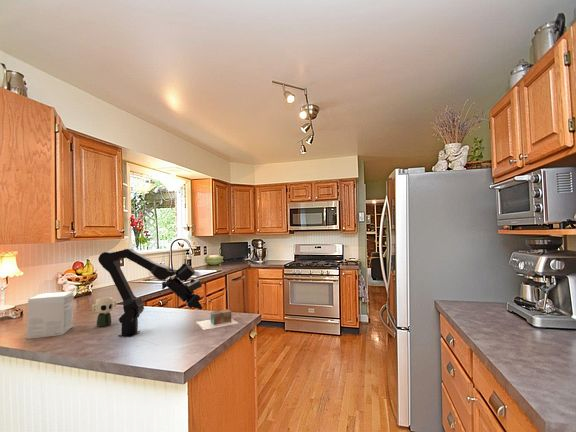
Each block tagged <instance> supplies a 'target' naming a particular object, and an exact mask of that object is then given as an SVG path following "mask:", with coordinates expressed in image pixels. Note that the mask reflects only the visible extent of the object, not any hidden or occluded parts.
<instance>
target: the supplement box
mask: <svg viewBox="0 0 576 432" xmlns="http://www.w3.org/2000/svg"><path fill="white" fill-rule="evenodd" d="M73 307H74V290H72V291H71V290H70V291H59V292H46V293H45V292H44V293H39V294H37V295H34V296H32V297H30V298H27V318H26V319H27V320H26V322H27V323H26V338H25V339H26V340H30V339H31V340H32V339H40V338H47V337H55V336H56V337H57V336H58V337H59V336H63V335H64V334H65V333H67V332H68V331H69V330H70V329H71V328H73V316H74V315H73V314H74V313H73V312H74V311H73V310H74V308H73Z"/></svg>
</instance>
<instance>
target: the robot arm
mask: <svg viewBox="0 0 576 432" xmlns="http://www.w3.org/2000/svg"><path fill="white" fill-rule="evenodd" d="M124 259H128V260H129V261H132V263H133V262H134V263H135V264H137V265H139V266H141V267H142V268H144V269H146V270H147V271H149V272H150V274H151V275H152V276H154V277H155V278H156V279H157V280H160V281H162V282H161V289H162V290H165V289H166V288H168V289H169V290H170V291H171V292H173V293H174V294H175V296H177V297H178V298H179V299H180V300H181V301H182V302H184V303H185V305H186V306H187V307H189V308H190V309H191V308H193V309H197V310H203V306H202V304H201V303H200V301H199V300H200V299H201V296H200V295H199V294H197V293H196V292H195V291H196V290H197V289H199V288H201V287H203V285H202V283H201V280H199V279H193V278H191V277H192V276H193V275H195V274H196V271H195V269H194V268H193V267H192V266H190V265H189V264H187V262H184V263H183V264H182V265H181V266H180V267H179V268H178V269H172V268H171V267H170V266H168V265H166V264H162V263H158V262H156V261H153V259H150V258H148V257H146V256H145V255H142V254H141V253H139V252H137V251H135V250H134V249H133V248H125V249H122V250H118V251H114V250H113V251H111V250H110V251H105V252H101V253H100V254H99V256H98V260H97V261H98V263H99V265H101V267H102V268H103V269H104V270H106V271H107V272H108V273H109V276H110V277H111V279H112V281H113V283H114V286H115V287H116V289H117V291H118V293H119V295H120V297H121V299H122V308H123V314H122V315H121V316H120V317H119V318H118V322H119V323H120V324H121V329H120V330H121V333H119V334H117V336H118V337H133V336H135V335H137V334H139V333H141V330H138V329H139V328H138V326H139V320H138V318H139V317H140V315H141V314H142V313H143V311H144V310H145V303H144V302H143V300H142V297H141V296H138V297H137V296H135V294H134V293H133V290H132V289H131V287H130V284H129V282H128V281H127V278H126V277H125V274H124V272H123V271H122V268H121V260H124ZM166 279H167V280H166ZM189 279H190V280H189ZM165 280H166V281H165ZM188 280H189V283H188V284H186V283H184V282H187V281H188Z"/></svg>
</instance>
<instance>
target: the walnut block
mask: <svg viewBox="0 0 576 432" xmlns="http://www.w3.org/2000/svg"><path fill="white" fill-rule="evenodd" d="M231 318H232V310H230V309H228V308H227V309H222V310H215V311H210V320H211V323H212V324H213V325H216V324H221V323H227V322H231Z"/></svg>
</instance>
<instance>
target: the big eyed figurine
mask: <svg viewBox="0 0 576 432" xmlns="http://www.w3.org/2000/svg"><path fill="white" fill-rule="evenodd" d="M115 307H117V300H114V298H113V297H102V298H97V299H96V300H95V304H92V306H91V311H92V312H95V313H96V314H98V315H97V317H96V318H97V319H96V326H98V327H106V326H110V325H112V316H111V313H110V312H112V311H113V309H114V308H115Z"/></svg>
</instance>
